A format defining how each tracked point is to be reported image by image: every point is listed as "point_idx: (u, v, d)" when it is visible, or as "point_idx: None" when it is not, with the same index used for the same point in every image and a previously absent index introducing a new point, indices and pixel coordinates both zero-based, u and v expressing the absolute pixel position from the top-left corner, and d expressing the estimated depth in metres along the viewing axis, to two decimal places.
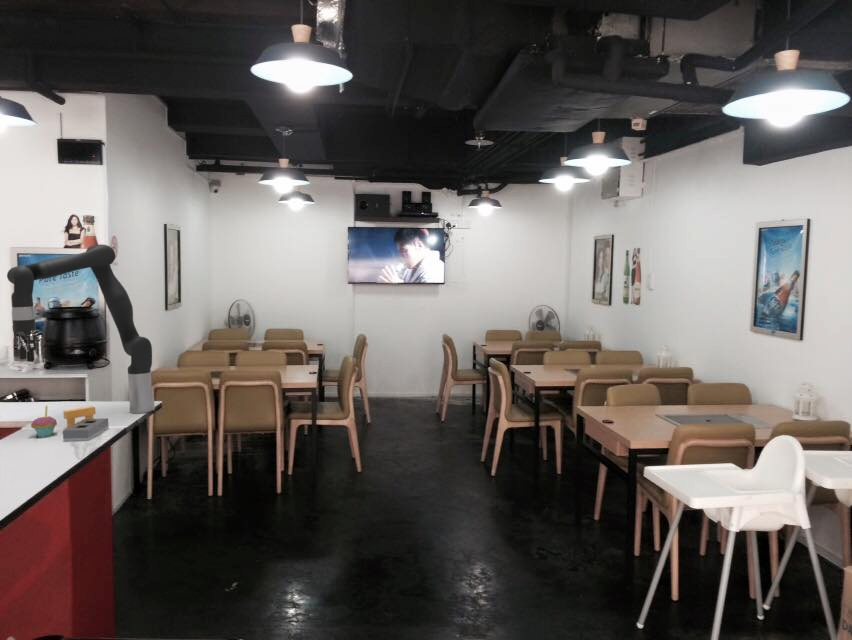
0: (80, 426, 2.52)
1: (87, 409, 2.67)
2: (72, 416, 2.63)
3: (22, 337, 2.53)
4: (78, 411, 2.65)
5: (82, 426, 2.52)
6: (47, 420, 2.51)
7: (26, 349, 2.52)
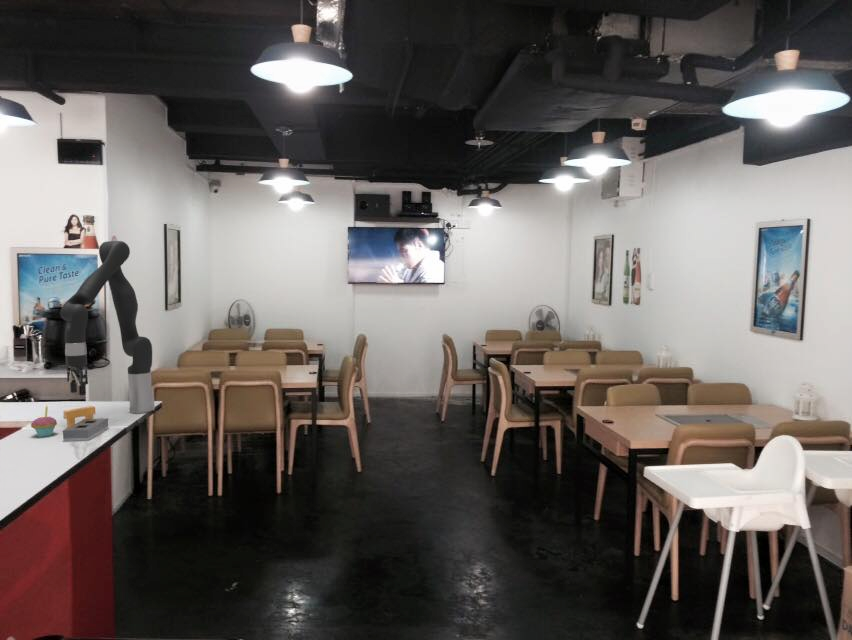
0: (80, 426, 2.52)
1: (87, 409, 2.67)
2: (72, 416, 2.63)
3: (74, 372, 2.63)
4: (78, 411, 2.65)
5: (82, 426, 2.52)
6: (47, 420, 2.51)
7: (78, 383, 2.62)
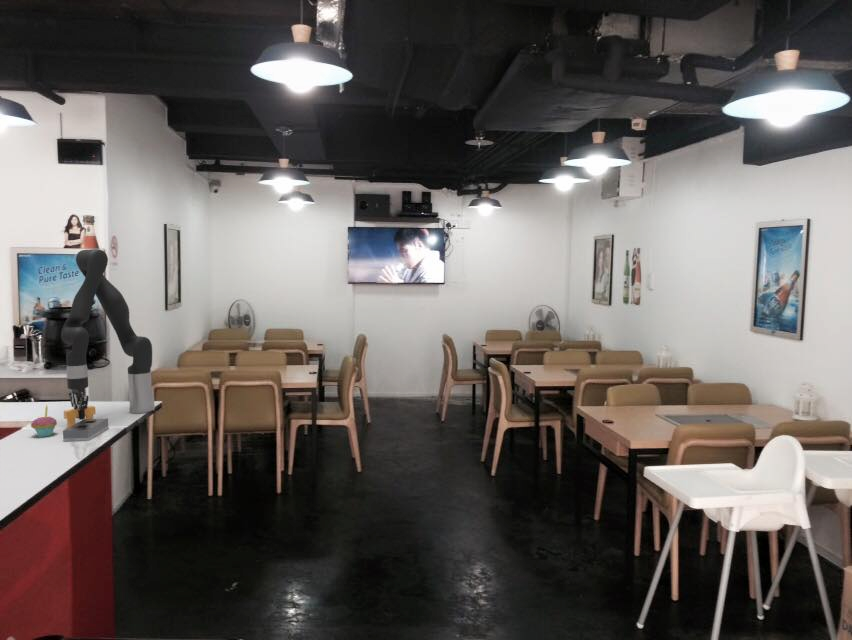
0: (80, 426, 2.52)
1: (87, 409, 2.67)
2: (72, 416, 2.63)
3: (76, 395, 2.64)
4: None
5: (82, 426, 2.52)
6: (47, 420, 2.51)
7: (78, 407, 2.64)
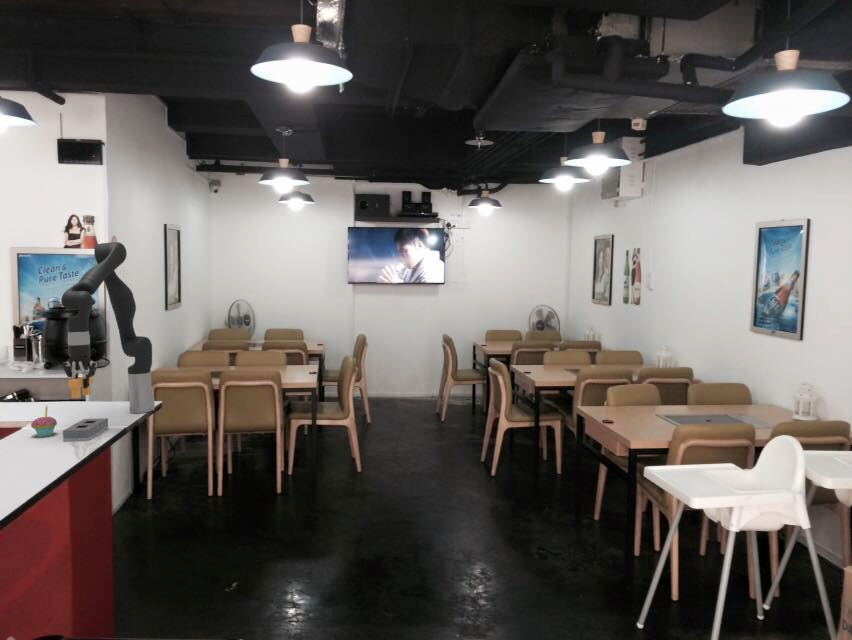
0: (80, 426, 2.52)
1: None
2: (79, 385, 2.50)
3: (82, 363, 2.52)
4: None
5: (82, 426, 2.52)
6: (47, 420, 2.51)
7: (83, 376, 2.52)
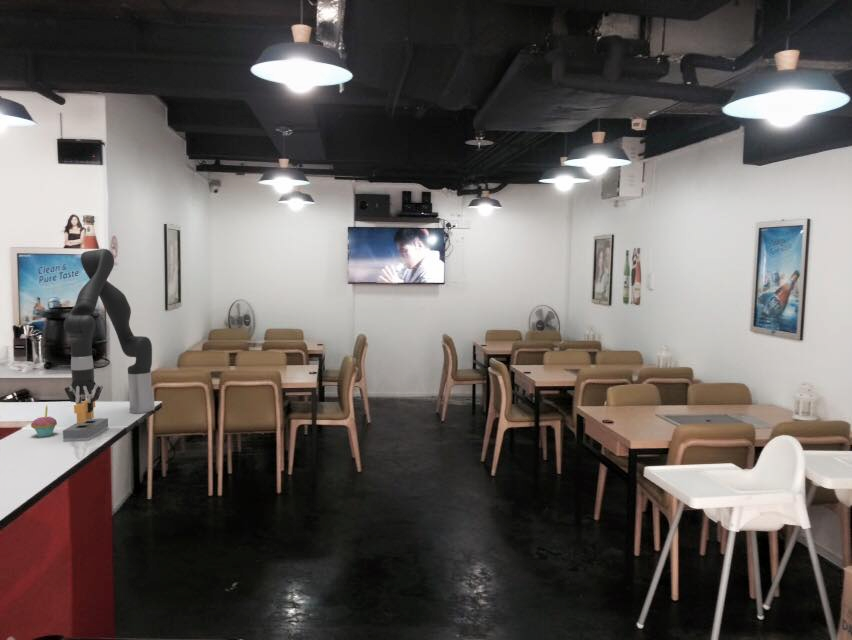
0: (80, 426, 2.52)
1: None
2: (85, 409, 2.49)
3: (87, 387, 2.51)
4: (87, 404, 2.52)
5: (82, 426, 2.52)
6: (47, 420, 2.51)
7: (88, 400, 2.51)
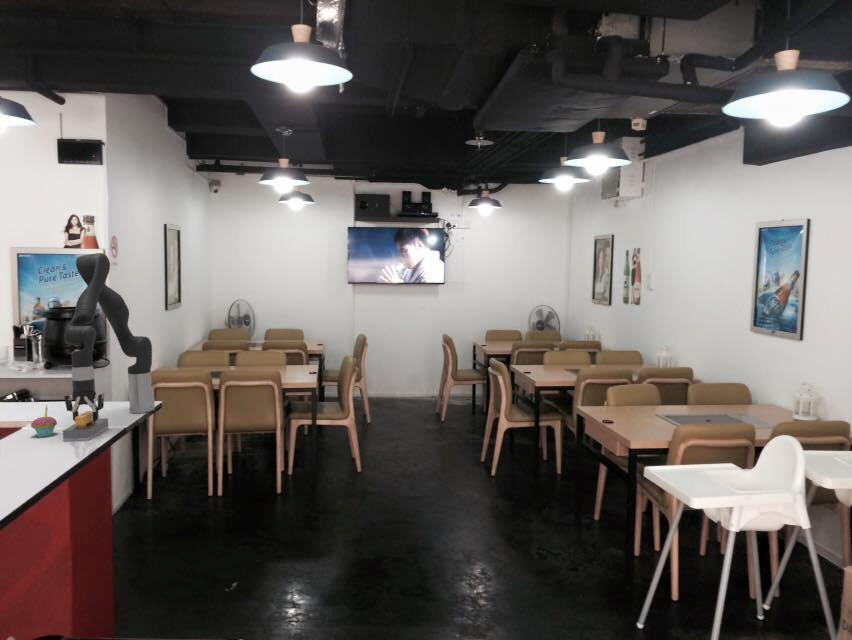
0: None
1: (92, 413, 2.55)
2: (86, 421, 2.50)
3: (87, 397, 2.51)
4: (88, 415, 2.52)
5: None
6: (47, 420, 2.51)
7: (93, 409, 2.52)
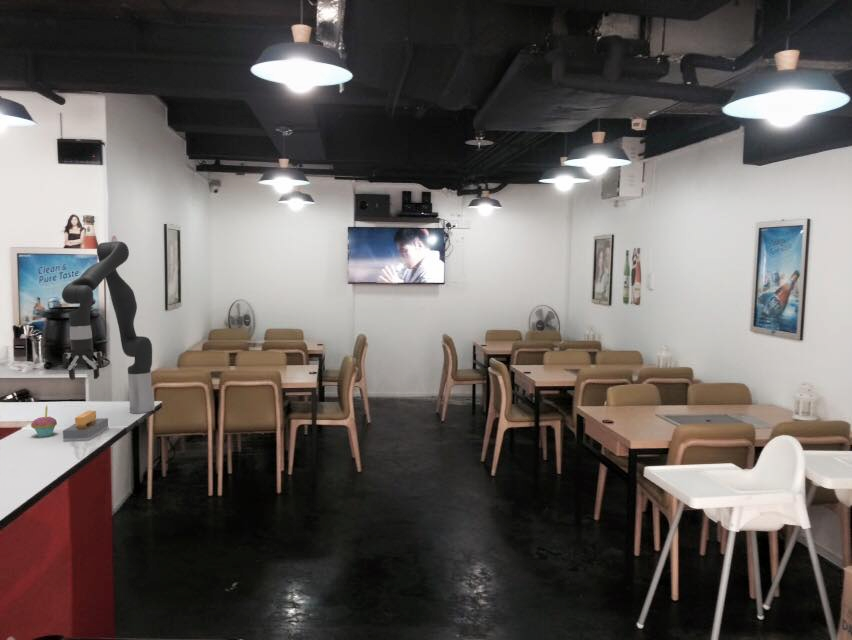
0: None
1: (92, 413, 2.55)
2: (86, 421, 2.50)
3: (86, 356, 2.53)
4: (88, 415, 2.52)
5: None
6: (47, 420, 2.51)
7: (93, 367, 2.54)
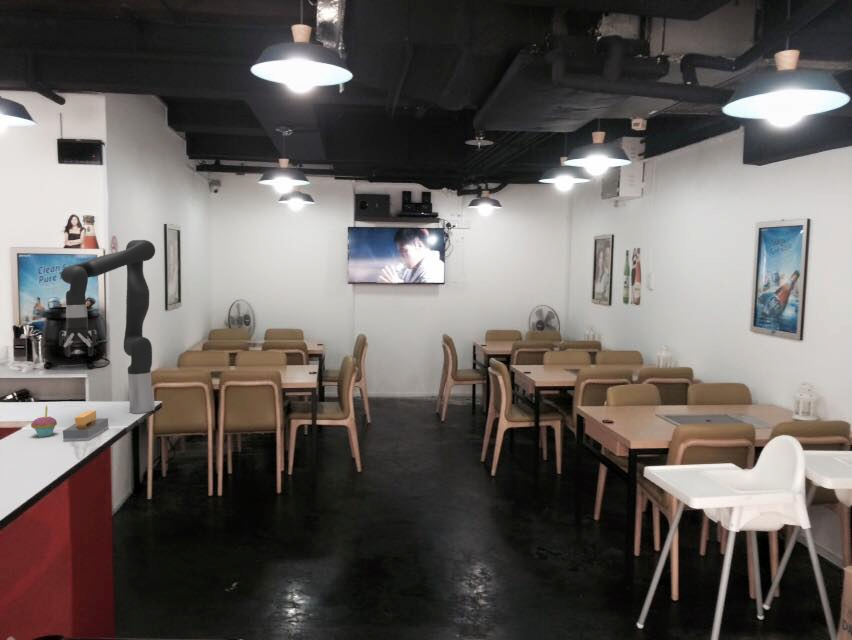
0: None
1: (92, 413, 2.55)
2: (86, 421, 2.50)
3: (81, 333, 2.65)
4: (88, 415, 2.52)
5: None
6: (47, 420, 2.51)
7: (88, 344, 2.66)
